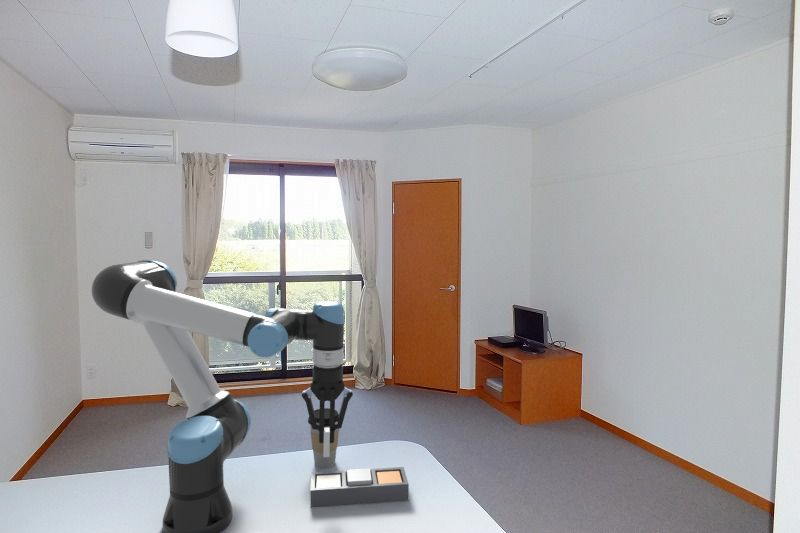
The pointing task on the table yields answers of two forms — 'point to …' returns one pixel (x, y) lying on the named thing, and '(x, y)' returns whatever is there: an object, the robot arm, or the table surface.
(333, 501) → the keypad
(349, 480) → the key grey
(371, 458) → the table surface
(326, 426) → the coffee cup
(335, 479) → the key cream
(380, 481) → the key orange
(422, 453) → the table surface
